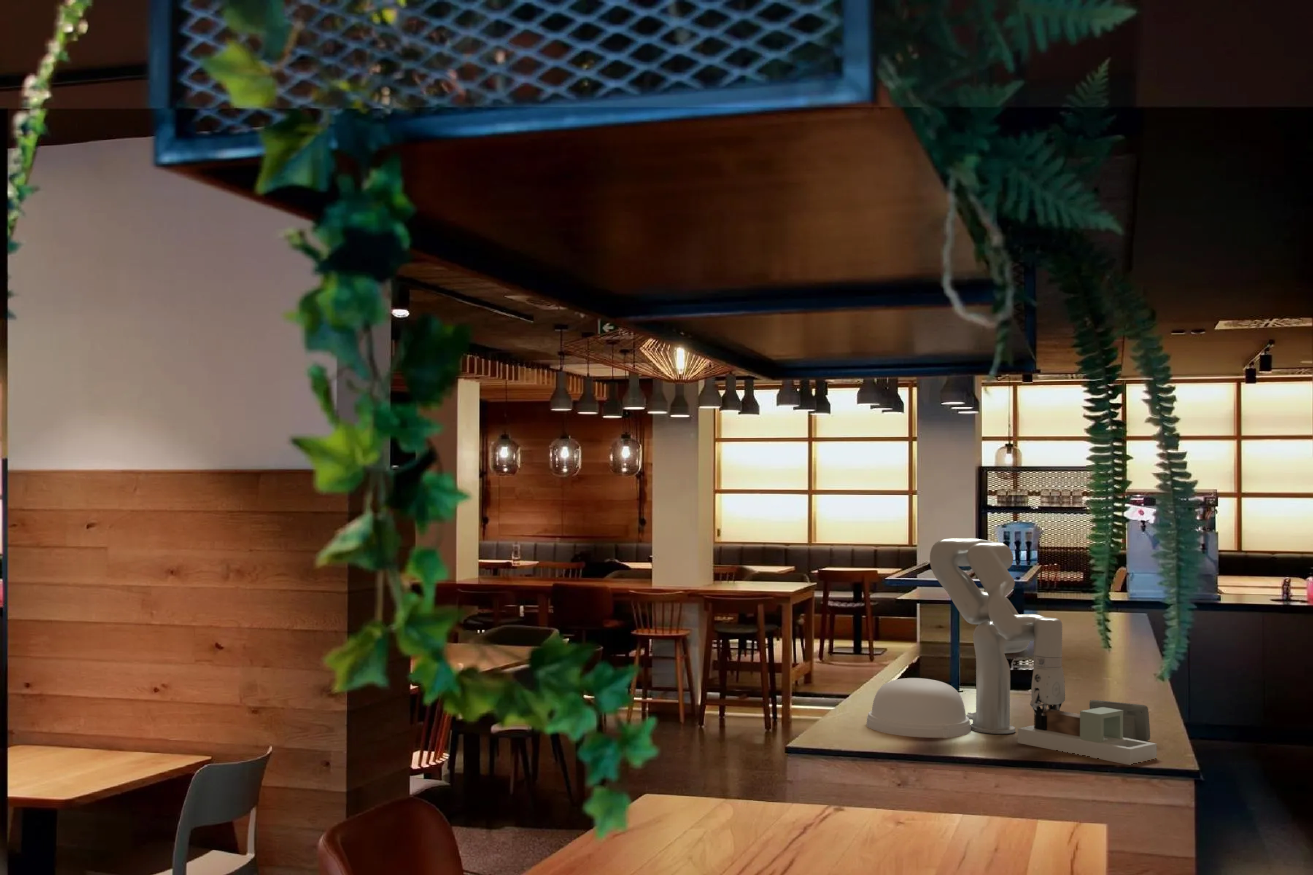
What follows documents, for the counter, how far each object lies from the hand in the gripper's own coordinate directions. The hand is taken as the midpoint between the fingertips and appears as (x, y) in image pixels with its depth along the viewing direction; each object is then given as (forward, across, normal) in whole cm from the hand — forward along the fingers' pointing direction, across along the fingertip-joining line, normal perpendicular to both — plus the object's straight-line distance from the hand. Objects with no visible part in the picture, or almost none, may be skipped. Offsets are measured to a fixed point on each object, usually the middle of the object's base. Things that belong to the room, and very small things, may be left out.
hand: (1046, 727), depth 343 cm
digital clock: (+5, +23, -8) cm, 25 cm away
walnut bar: (0, 0, -5) cm, 5 cm away
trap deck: (+4, 0, -12) cm, 13 cm away
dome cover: (+5, -12, +35) cm, 37 cm away
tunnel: (0, 0, -17) cm, 17 cm away
